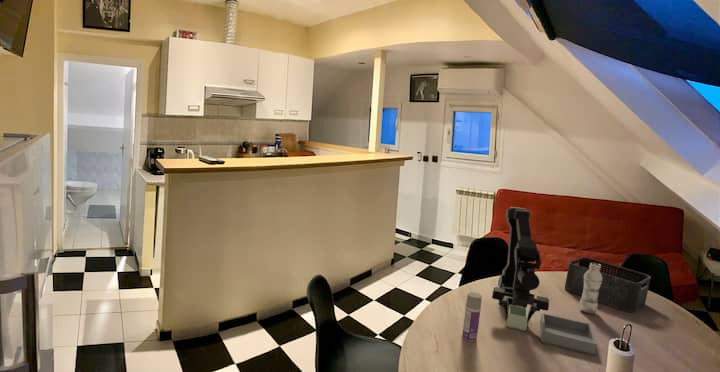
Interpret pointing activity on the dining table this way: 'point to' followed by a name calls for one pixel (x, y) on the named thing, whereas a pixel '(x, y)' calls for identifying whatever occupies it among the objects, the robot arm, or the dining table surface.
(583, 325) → the large crate
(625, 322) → the dining table surface
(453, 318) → the dining table surface
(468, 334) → the container
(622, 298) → the storage bin
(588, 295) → the plastic bottle
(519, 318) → the small crate
